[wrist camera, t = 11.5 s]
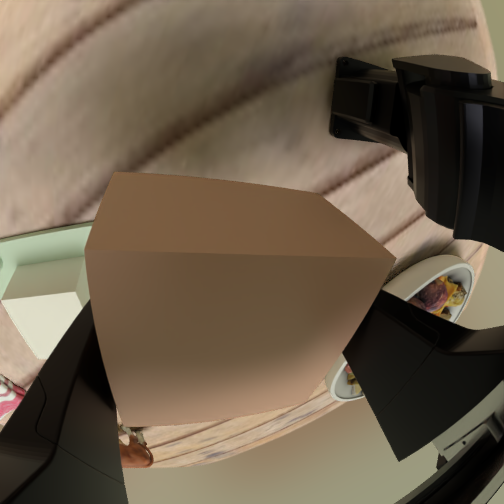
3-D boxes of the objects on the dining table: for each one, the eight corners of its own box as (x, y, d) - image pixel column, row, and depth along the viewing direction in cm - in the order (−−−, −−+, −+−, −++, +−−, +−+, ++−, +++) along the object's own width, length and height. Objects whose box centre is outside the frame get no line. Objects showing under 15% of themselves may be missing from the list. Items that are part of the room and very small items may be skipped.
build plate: (127, 216, 18) (126, 224, 17) (151, 325, 24) (152, 335, 23) (-21, 244, 14) (-27, 252, 13) (27, 337, 20) (24, 346, 19)
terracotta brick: (317, 193, 9) (397, 258, 6) (268, 329, 12) (305, 402, 9) (114, 171, 7) (84, 249, 4) (119, 335, 10) (123, 426, 7)
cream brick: (85, 255, 18) (75, 291, 15) (107, 318, 21) (105, 355, 18) (17, 266, 16) (0, 300, 13) (45, 324, 20) (38, 359, 16)
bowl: (455, 298, 48) (477, 322, 41) (350, 390, 52) (367, 418, 46) (450, 203, 29) (494, 233, 23) (278, 355, 34) (303, 406, 28)
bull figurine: (66, 419, 30) (67, 466, 23) (147, 424, 35) (156, 470, 29) (72, 429, 32) (75, 472, 25) (148, 433, 37) (156, 476, 31)
